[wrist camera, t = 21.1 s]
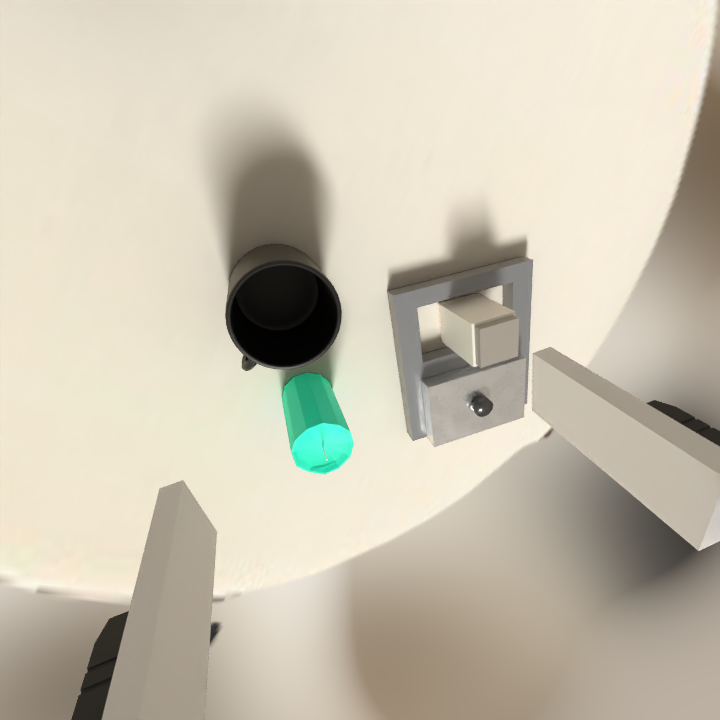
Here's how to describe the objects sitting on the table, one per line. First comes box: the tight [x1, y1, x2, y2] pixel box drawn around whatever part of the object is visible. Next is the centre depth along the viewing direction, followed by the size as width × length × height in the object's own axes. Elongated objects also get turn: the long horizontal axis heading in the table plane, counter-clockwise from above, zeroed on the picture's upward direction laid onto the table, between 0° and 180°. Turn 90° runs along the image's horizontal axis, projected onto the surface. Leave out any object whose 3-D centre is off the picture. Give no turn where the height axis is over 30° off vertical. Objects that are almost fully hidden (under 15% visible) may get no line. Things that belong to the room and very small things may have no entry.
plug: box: [438, 293, 519, 368], centre depth 43 cm, size 5×5×8 cm
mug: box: [225, 244, 342, 371], centre depth 35 cm, size 9×12×9 cm
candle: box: [282, 372, 354, 474], centre depth 40 cm, size 6×6×12 cm
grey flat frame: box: [387, 257, 533, 441], centre depth 47 cm, size 20×17×2 cm
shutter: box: [421, 353, 526, 447], centre depth 48 cm, size 9×13×3 cm
